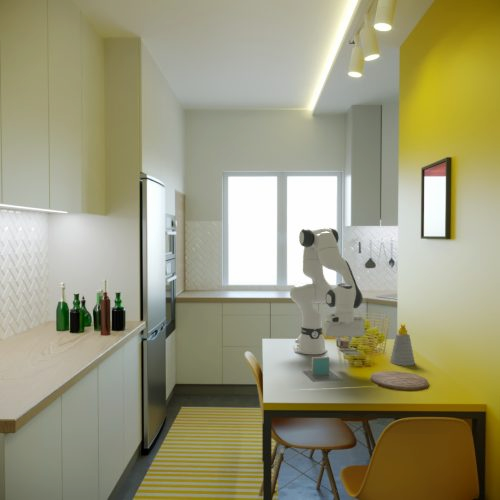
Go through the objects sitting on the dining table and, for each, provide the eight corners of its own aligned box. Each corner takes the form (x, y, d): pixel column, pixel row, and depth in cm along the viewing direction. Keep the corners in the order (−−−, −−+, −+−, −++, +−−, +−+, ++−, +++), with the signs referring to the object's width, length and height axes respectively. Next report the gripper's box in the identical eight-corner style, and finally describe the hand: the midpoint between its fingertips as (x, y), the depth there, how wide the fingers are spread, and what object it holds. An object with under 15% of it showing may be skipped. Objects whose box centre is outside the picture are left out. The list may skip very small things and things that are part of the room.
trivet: (359, 377, 224) (359, 373, 224) (403, 373, 233) (403, 369, 233) (393, 393, 201) (393, 389, 201) (440, 388, 210) (440, 383, 210)
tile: (311, 374, 226) (311, 357, 226) (327, 373, 227) (327, 356, 227) (312, 375, 224) (312, 358, 224) (329, 374, 226) (329, 357, 226)
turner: (332, 346, 240) (332, 338, 240) (345, 345, 241) (345, 337, 241) (346, 355, 222) (346, 346, 222) (360, 354, 223) (360, 346, 223)
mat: (301, 372, 231) (301, 371, 231) (329, 370, 234) (329, 369, 234) (313, 382, 214) (313, 381, 214) (343, 381, 216) (343, 380, 216)
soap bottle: (389, 364, 248) (390, 325, 248) (390, 359, 260) (391, 321, 260) (414, 366, 244) (415, 326, 244) (414, 361, 256) (415, 323, 256)
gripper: (362, 315, 239) (361, 343, 239) (322, 316, 235) (322, 344, 235) (367, 318, 232) (366, 346, 233) (327, 318, 229) (326, 347, 229)
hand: (344, 345), depth 234 cm, fingers closed on turner, 3 cm apart
